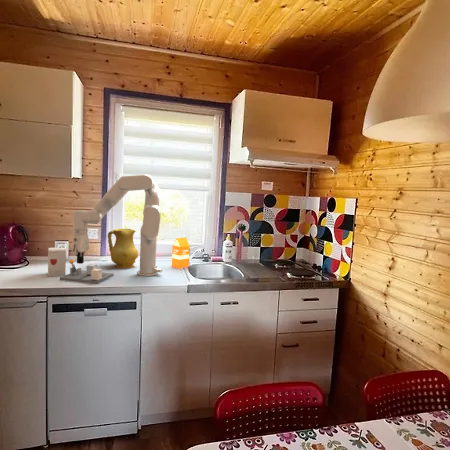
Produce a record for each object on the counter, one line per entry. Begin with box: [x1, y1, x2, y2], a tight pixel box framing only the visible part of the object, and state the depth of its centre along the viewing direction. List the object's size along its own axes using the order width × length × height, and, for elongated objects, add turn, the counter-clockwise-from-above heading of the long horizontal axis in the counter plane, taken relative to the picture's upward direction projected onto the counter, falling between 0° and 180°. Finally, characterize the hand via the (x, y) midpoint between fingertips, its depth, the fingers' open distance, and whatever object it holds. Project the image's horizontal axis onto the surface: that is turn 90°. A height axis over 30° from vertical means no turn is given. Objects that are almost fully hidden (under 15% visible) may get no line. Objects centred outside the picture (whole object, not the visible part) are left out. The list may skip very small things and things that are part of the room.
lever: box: [69, 259, 77, 273], centre depth 192 cm, size 2×2×9 cm
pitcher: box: [107, 228, 139, 269], centre depth 225 cm, size 17×19×25 cm
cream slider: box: [91, 268, 103, 280], centre depth 186 cm, size 4×4×5 cm
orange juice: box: [171, 236, 190, 269], centre depth 232 cm, size 8×9×20 cm
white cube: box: [85, 263, 98, 275], centre depth 196 cm, size 4×4×5 cm
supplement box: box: [47, 247, 67, 277], centre depth 197 cm, size 9×9×15 cm
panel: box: [59, 266, 115, 285], centre depth 193 cm, size 22×18×5 cm
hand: (80, 263), depth 198 cm, fingers closed
